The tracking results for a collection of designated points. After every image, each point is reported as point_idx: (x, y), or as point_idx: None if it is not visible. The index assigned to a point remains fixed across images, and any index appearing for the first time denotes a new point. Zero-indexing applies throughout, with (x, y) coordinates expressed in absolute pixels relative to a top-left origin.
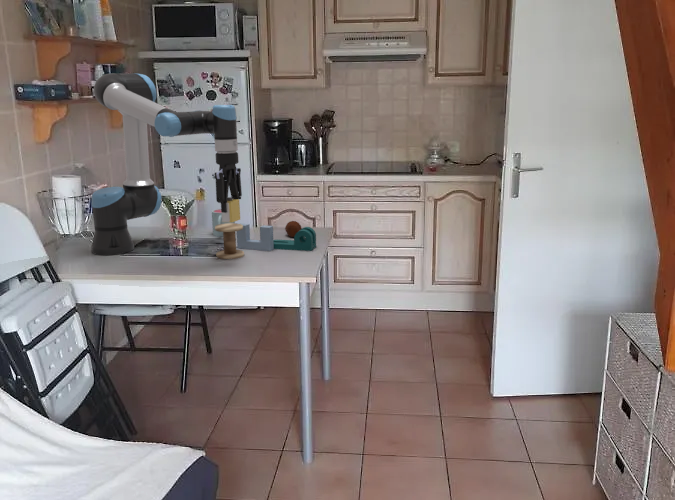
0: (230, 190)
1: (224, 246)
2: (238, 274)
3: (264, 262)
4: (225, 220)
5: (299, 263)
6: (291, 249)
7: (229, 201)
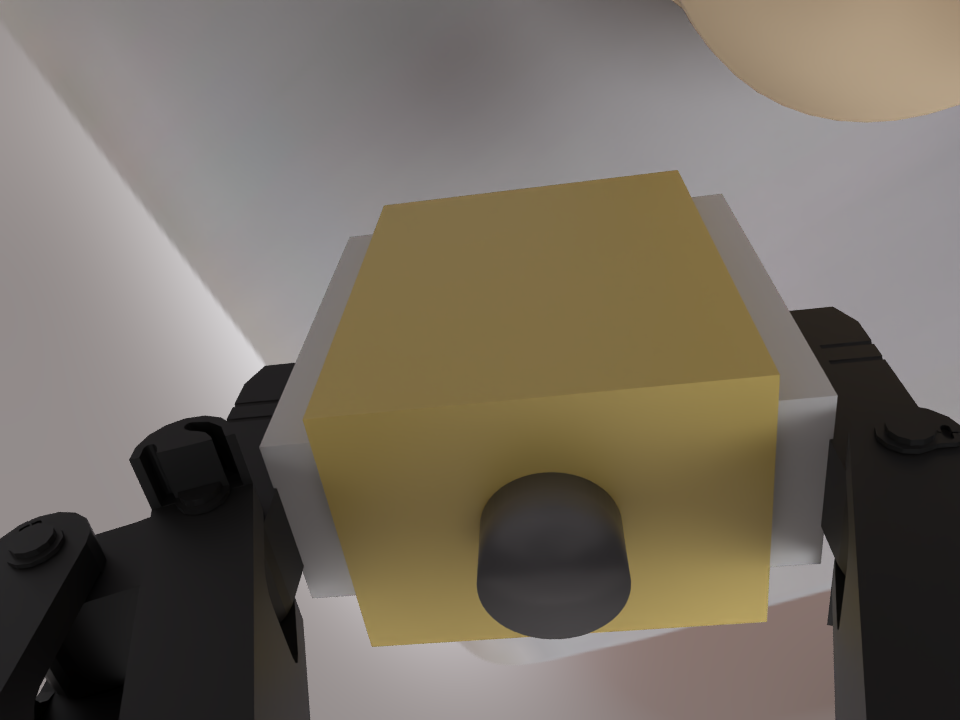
0: (854, 653)
1: None
2: (279, 327)
3: None
4: None
5: None
6: None
7: (431, 579)
